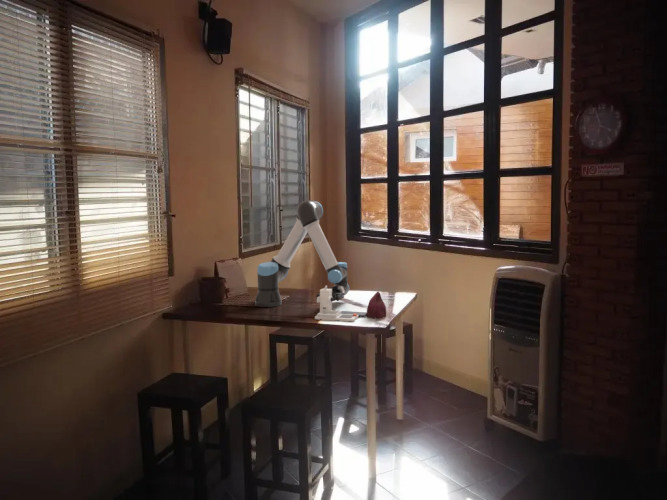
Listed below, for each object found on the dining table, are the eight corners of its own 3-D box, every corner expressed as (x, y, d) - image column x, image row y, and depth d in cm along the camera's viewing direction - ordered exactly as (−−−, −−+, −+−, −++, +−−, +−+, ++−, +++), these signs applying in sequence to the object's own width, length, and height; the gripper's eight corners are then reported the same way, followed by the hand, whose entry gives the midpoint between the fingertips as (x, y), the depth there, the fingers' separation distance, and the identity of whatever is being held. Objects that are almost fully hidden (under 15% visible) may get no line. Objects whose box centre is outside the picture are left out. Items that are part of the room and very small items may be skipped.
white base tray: (314, 319, 255) (314, 313, 254) (321, 314, 264) (321, 309, 264) (353, 321, 249) (353, 316, 248) (358, 317, 258) (358, 312, 258)
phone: (364, 317, 258) (364, 315, 258) (338, 315, 262) (338, 313, 262) (368, 314, 264) (368, 312, 264) (342, 312, 269) (342, 310, 268)
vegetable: (387, 324, 257) (392, 297, 252) (366, 322, 256) (371, 295, 251) (384, 314, 267) (389, 288, 262) (364, 312, 266) (369, 286, 261)
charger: (319, 312, 267) (319, 286, 265) (322, 310, 272) (323, 284, 270) (328, 313, 265) (329, 286, 264) (331, 311, 270) (332, 285, 269)
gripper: (351, 300, 283) (339, 308, 260) (320, 298, 288) (306, 306, 266) (351, 286, 282) (339, 294, 260) (320, 284, 287) (306, 292, 265)
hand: (322, 300), depth 263 cm, fingers closed on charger, 5 cm apart
